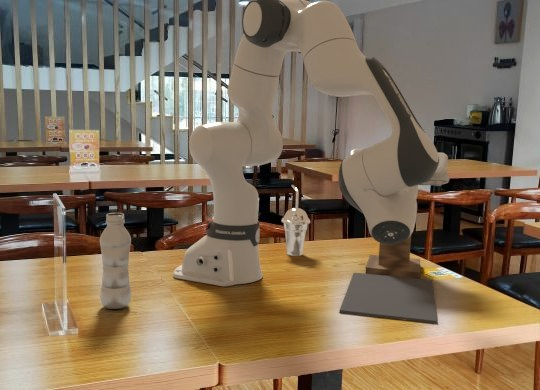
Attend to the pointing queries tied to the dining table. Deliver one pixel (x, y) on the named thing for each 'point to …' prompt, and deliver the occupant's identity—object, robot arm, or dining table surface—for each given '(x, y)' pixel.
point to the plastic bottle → (115, 263)
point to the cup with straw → (295, 228)
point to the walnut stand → (394, 261)
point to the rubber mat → (390, 297)
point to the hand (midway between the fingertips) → (399, 144)
